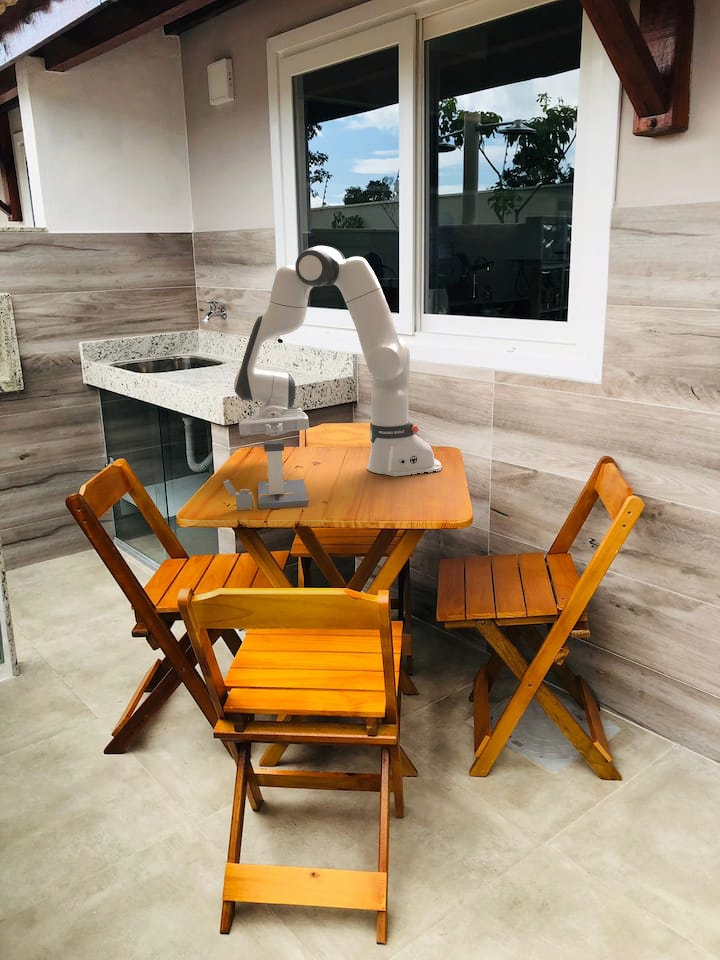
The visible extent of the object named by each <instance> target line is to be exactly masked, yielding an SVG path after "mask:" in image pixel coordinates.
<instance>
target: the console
mask: <svg viewBox="0 0 720 960" xmlns="http://www.w3.org/2000/svg"><path fill="white" fill-rule="evenodd" d="M257 484H258V485H257V489H258V490H257V492H258V493H257V494H258V495H257V497H258V498H257V499H258V500H257V501H258V502H257V504H258V510H264V509H266V508H267V509H280V508H279V507H283V508H294V507H295V506H298V507H307V506H306V505H308V506H309V499H308V498H309V497H308V494H307V488H306V483H305V479H302V478H301V479H289V480H288V479H286V480H284V494H272V495H269V480H268V481H258V483H257Z"/></svg>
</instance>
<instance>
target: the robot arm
mask: <svg viewBox="0 0 720 960" xmlns="http://www.w3.org/2000/svg"><path fill="white" fill-rule="evenodd" d="M273 280H274V281H273V284H272V288H271V292H270V293H271V294H270V300H269V305H268V307H267V309H266V311H265V312H264V314H263V315H260V316H258V317H257V318H256V320H255V322H254V325H253V328H252V331H251V333H250V335H249V338H248V341H247V345H246V348H245V352H244V354H243V358H242V362H241V365H240V368H239V369H238V372H237V373H236V376H235V377H234V378H235V379H234V382H233V383H234V384H233V387H234V392H235V394H236V395H237V397H238V398H240V400H241V401H248V402H249V401H251V402H254V401H255V402H262V403H263V404H262V405H261V406H260V408H259V413H258V417H250V418H243V419H241V420H240V421H239V423H238V428H239V434H240V436H250V435H260V434H261V435H263V434H265V435H268V436H271V437H278V436H280V435H282V434H286V433H289V432H295V431H296V432H297V431H307V430H309V428H310V423H309V417H308V415H307V413H305V412H304V411H303V410H302V408H301V407H293V406H294V405H295V398H296V382H295V380H294V378H293V377H292V375H291V374H290V373H287V372H283V371H274V370H273V371H271V370H267V369H266V370H265V369H260V368H257V367H256V363H257V360H258V356H259V354H260V350H261V347H262V345H263V343H265V342H266V341H267V340H268V339H272V338H275V337H278V336H284V335H289V334H291V333H294V332H295V331H297V330H298V329H299V328H301V326H302V325H303V323H304V322H305V319H306V313H307V310H308V309H307V308H308V302H309V296H310V293H311V291H312V289H313V288H315V287H317V288H318V287H324V286H325V287H327V286H332V285H334V286H336V287H337V288H338V290H339V291H340V292H341V295H342V297H343V299H344V302H345V304H346V307H347V310H348V312H349V315H350V316H351V320H352V322H353V324H354V327H355V330H356V332H357V336H358V341H359V344H360V346H361V350H362V353H363V357H364V360H365V363H366V366H367V369H368V371H369V373H370V375H372V381H371V395H370V409H371V410H370V412H371V414H370V415H371V419H370V420H371V422H370V424H369V425H370V427H369V440H370V442H371V443H370V444H371V445H370V452H369V453H370V454H369V460H368V463H367V470H368V471H369V472H370V473H375V474H378V475H379V474H380V475H388V476H391V477H401V476H410V475H411V474H412V475H418V474H417V473H420V474H425V473H424V472H428V473H433V471H436V472H440V471H442V469H441V468H443V466H442V463H441V462H440V461H439V460H438V459H436V458H435V455H434V450H433V449H432V446H431V445H430V444H429V443H427V442H426V441H425V440H424V439H423V438H421V437H419V436H418V435H416V433H418V432H419V427H418V425H416V424H414V423H412V422H410V421H409V389H410V388H409V386H410V384H409V383H410V362H411V361H410V357H411V356H410V355H411V354H410V350H409V347H408V345H407V343H406V342H405V341H404V340H402V339H401V338H399V337H398V333H397V330H396V326H395V323H394V320H393V315H392V312H391V310H390V307H389V304H388V302H387V300H386V297H385V294H384V292H383V289H382V287H381V284H380V282H379V280H378V277H377V276H376V274H375V272H374V270H373V269H372V266H370V264H369V263H368V261H367V260H366V258H364V257H362V256H351V257H349V258H345V256H344V254H343V253H342V252H341V251H340V250H339V249H338V248H337V247H334V246H331V245H316V246H313V247H308V248H306V249H304V250H302V252H301V253H300V254H299V255H298V256H297V259H296V261H295V264H285V265H281V266H280V267H279V268H278V270H277V272H276V274H275V277H274V279H273Z"/></svg>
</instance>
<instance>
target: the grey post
mask: <svg viewBox="0 0 720 960" xmlns="http://www.w3.org/2000/svg"><path fill="white" fill-rule="evenodd" d="M263 449H264V450H263V451H264V452H265V453H266V461H267V479H268V481H269V495H272V494H284V479H285V478H284V465H283V452H284V451H285V442H284V440H283V439H278V440H276V439H275V440H264V441H263Z"/></svg>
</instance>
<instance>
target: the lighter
mask: <svg viewBox="0 0 720 960" xmlns="http://www.w3.org/2000/svg"><path fill="white" fill-rule="evenodd" d="M222 483H223V486H224V487H225V489H226V491H227V492H228V494H229V495H230V497H234V496H235V501H236V504H235V505H236V510H237V511H244V510H245V511H246V509H252V510H253V509H254V499H253V491H250V490H249V489H248V488H242V489H239V492H238V491H236V489H235V488H234V486H233V484H232V483H231V481H230V479H226V480H224V481H223V482H222ZM243 509H244V510H243Z"/></svg>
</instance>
